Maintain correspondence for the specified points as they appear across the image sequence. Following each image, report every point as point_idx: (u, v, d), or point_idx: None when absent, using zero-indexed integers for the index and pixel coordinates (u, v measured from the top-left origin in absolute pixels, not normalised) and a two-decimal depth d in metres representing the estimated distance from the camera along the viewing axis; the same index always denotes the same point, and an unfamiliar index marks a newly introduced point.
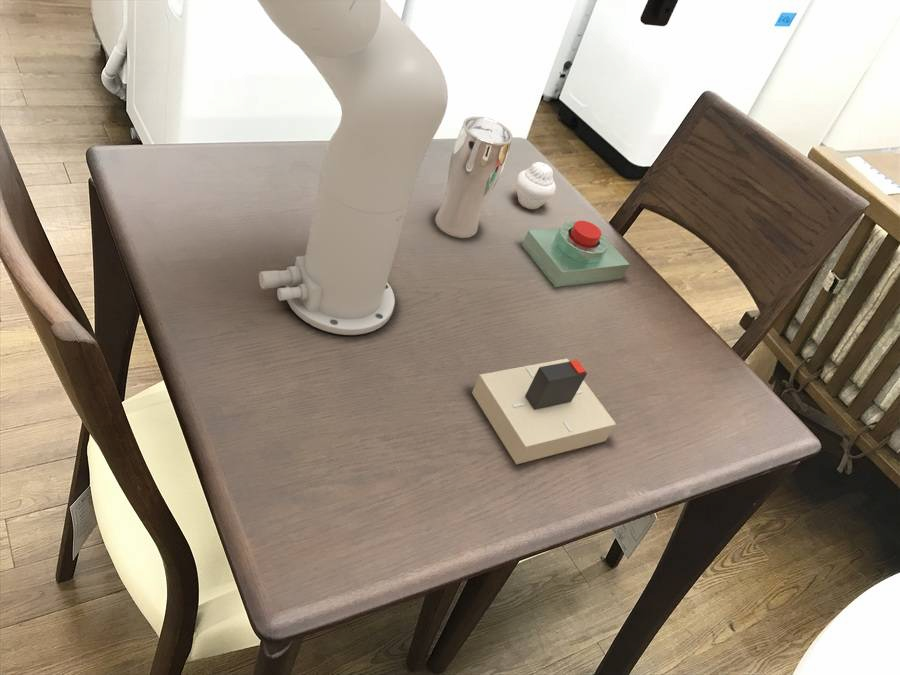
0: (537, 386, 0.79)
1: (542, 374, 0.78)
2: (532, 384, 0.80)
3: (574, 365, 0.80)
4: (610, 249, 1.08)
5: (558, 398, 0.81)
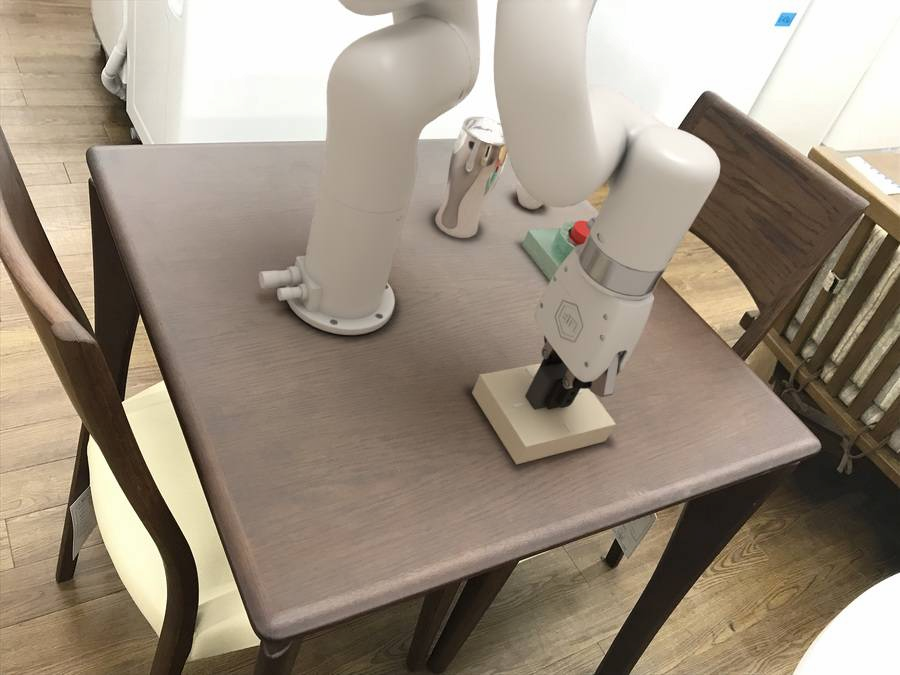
0: (537, 386, 0.79)
1: (542, 374, 0.78)
2: (532, 384, 0.80)
3: None
4: None
5: None
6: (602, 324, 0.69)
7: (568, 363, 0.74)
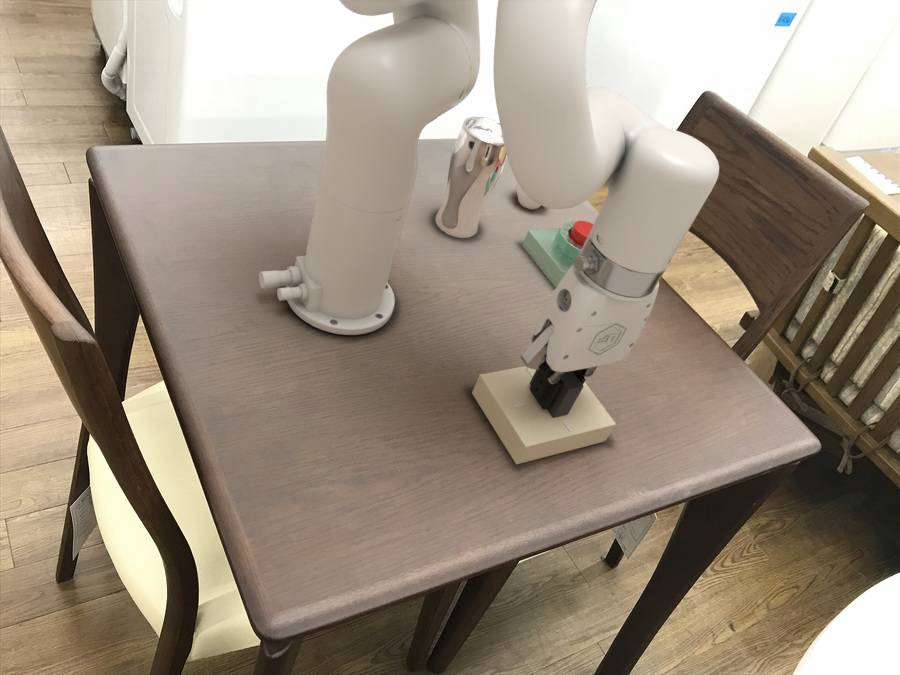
0: (569, 400, 0.79)
1: (573, 389, 0.78)
2: (561, 404, 0.79)
3: None
4: None
5: None
6: (646, 311, 0.73)
7: (611, 360, 0.76)
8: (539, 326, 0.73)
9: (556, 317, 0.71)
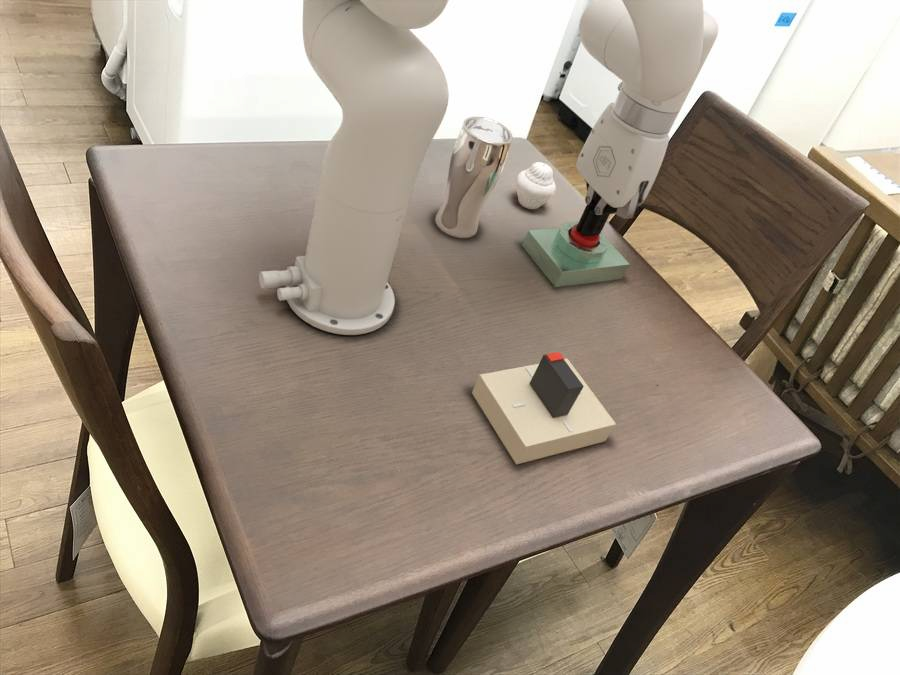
0: (569, 400, 0.79)
1: (573, 389, 0.78)
2: (561, 404, 0.79)
3: (555, 358, 0.80)
4: (610, 249, 1.08)
5: None
6: (631, 157, 0.92)
7: (603, 195, 0.97)
8: None
9: None
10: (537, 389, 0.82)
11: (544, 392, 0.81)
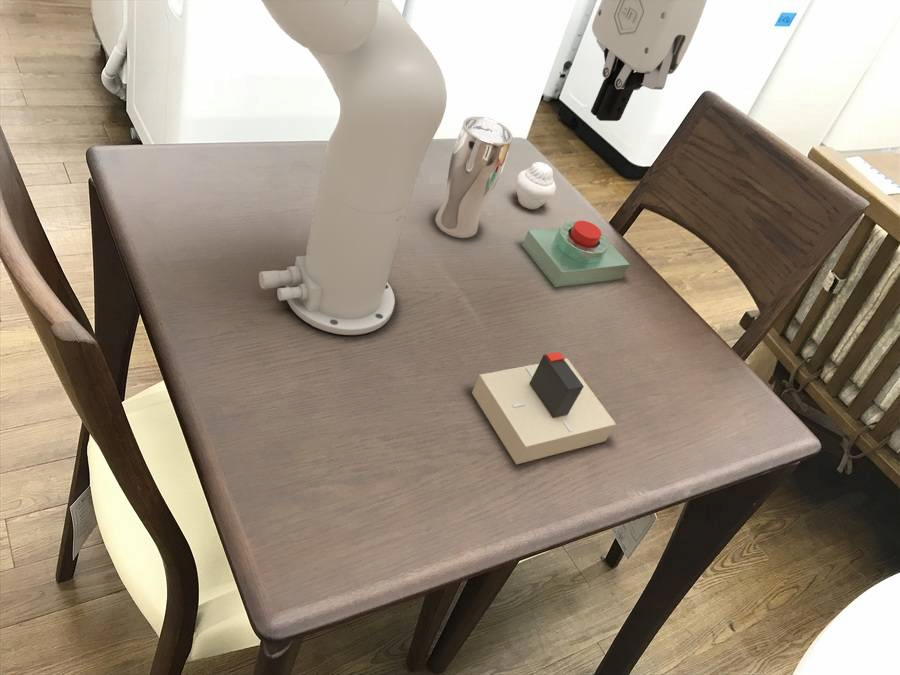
0: (569, 400, 0.79)
1: (573, 389, 0.78)
2: (561, 404, 0.79)
3: (555, 358, 0.80)
4: (610, 249, 1.08)
5: None
6: (664, 0, 0.72)
7: (627, 58, 0.77)
8: None
9: None
10: (537, 389, 0.82)
11: (544, 392, 0.81)
